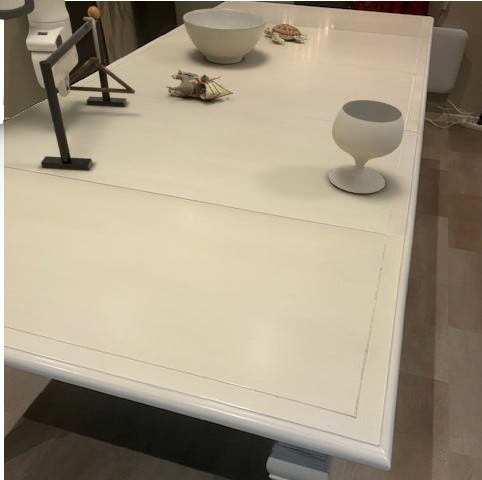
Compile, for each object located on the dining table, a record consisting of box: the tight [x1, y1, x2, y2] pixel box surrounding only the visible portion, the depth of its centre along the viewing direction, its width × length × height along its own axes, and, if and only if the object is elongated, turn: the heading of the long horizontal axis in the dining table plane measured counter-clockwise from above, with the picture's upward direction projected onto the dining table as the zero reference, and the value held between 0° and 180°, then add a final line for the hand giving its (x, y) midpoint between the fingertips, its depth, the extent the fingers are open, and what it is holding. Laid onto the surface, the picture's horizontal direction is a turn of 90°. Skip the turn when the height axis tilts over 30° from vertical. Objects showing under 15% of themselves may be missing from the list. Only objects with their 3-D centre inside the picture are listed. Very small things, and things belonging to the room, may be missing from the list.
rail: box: [39, 17, 98, 171], centre depth 109 cm, size 38×10×21 cm, turn 178°
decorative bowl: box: [182, 7, 267, 65], centre depth 160 cm, size 27×27×12 cm
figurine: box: [165, 69, 234, 101], centre depth 135 cm, size 20×6×17 cm
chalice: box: [328, 99, 405, 194], centre depth 99 cm, size 14×14×15 cm
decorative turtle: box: [263, 23, 308, 43], centre depth 183 cm, size 18×17×5 cm
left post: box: [86, 5, 128, 108], centre depth 122 cm, size 3×10×23 cm, turn 88°
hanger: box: [69, 16, 136, 95], centre depth 116 cm, size 1×19×16 cm, turn 88°
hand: (65, 94), depth 120 cm, fingers closed
